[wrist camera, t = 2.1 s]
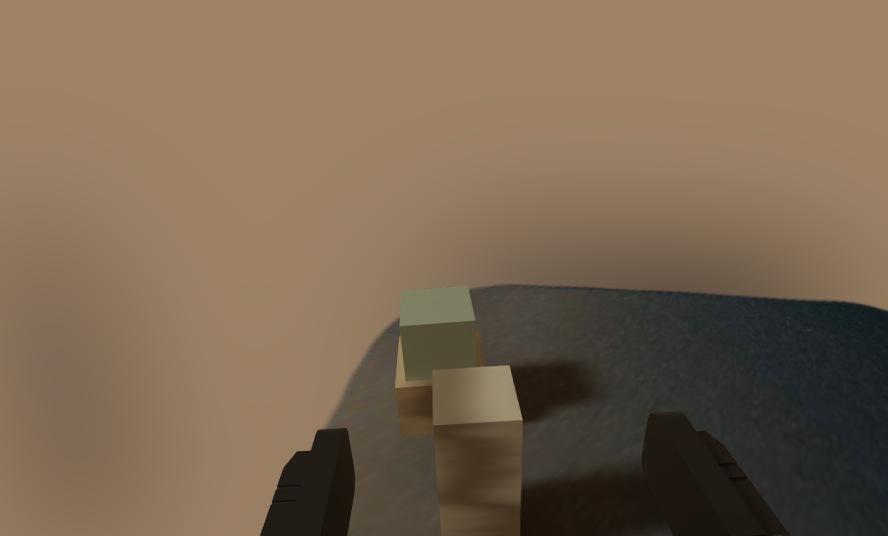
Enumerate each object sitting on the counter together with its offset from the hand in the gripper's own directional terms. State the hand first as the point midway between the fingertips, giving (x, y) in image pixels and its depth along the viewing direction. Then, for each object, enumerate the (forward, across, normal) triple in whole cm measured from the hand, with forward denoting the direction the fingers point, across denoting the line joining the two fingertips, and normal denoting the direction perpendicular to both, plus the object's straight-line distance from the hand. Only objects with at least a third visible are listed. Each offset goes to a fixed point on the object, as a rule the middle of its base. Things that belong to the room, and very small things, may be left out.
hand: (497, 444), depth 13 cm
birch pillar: (+11, 0, +18) cm, 22 cm away
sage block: (+23, +2, +14) cm, 27 cm away
